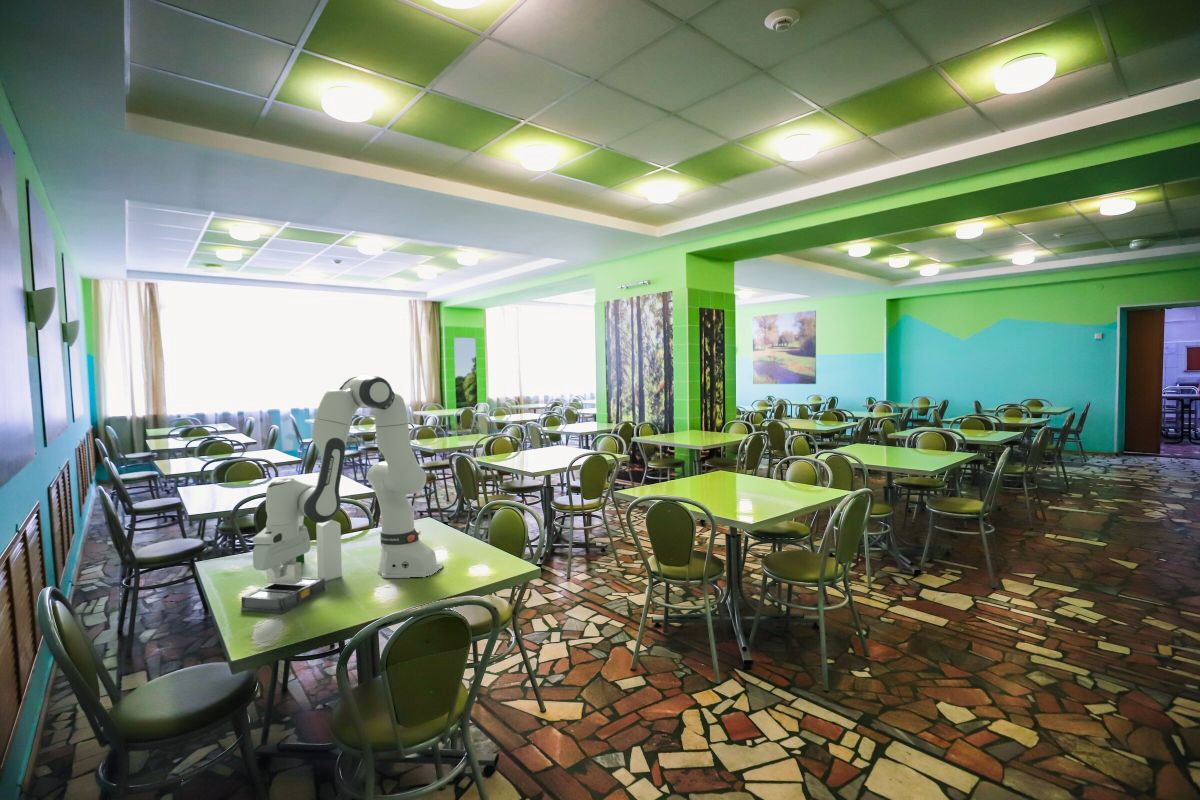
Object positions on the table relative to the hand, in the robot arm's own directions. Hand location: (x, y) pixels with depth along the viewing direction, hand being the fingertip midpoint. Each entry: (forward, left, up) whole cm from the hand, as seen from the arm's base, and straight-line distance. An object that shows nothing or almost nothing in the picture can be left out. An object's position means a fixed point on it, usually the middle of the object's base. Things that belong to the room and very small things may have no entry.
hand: (284, 575), depth 177 cm
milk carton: (+25, -32, -8) cm, 41 cm away
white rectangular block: (0, 0, -2) cm, 2 cm away
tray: (0, 0, -8) cm, 8 cm away
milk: (0, -21, -8) cm, 23 cm away
